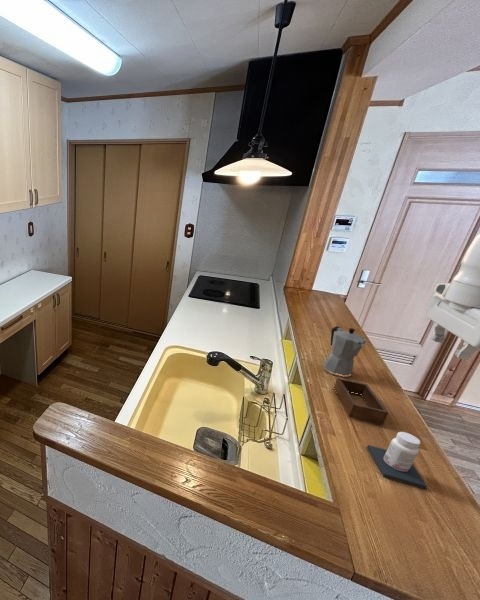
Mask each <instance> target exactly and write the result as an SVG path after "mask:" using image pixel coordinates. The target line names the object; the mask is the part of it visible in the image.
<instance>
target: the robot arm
mask: <svg viewBox="0 0 480 600" xmlns="http://www.w3.org/2000/svg"><path fill="white" fill-rule="evenodd" d="M433 291H434V294H433V295H432V296H431V298H430V301H429V304H428V306H427V309H426V318H427V319H429V320H431V321H432V322H433V325H432V328H433V329H432V330H433V331H432V336H431V340H432V341H433V342H435V343H441V344H442V343H444V342H445V340H446V338H447V336H445V333H446V330H447V331H448V332H450V333H451V334H452V335H454V336H456V337H457V338H459V339H461V340H463V341H464V342H463V344H462V347H461V348H460V349H455V352H454V357H456V358H457V359H459V360H463V361H468V360H469V359H470V357H471V355H473V354H474V353H476V352H478V351H479V350H480V232H478V233H477V234H476V236H475V237H474V238H473V240H472V242H470V244H469V246H468V248H467V249H466V251H465V253H464V255H463V257H462V259H461V262H460V268H459V271H458V273H457V274H455V275H454V277H452V280H451V282H446V283H437V284H436V285H435V286H434V289H433Z"/></svg>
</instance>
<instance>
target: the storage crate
mask: <svg viewBox="0 0 480 600" xmlns="http://www.w3.org/2000/svg"><path fill="white" fill-rule="evenodd" d="M334 388H335V389H334ZM335 390H336V391H335ZM333 391H334V393H335V395H336V396H337V398H338V400H339V402H340V404H341V406H342V407H343V409H344V411H345V413H346V415H347V417H349V418H351V419H356V420H360V421H363V422H369V423H372V424H377V425H380V426H384V424H385V422H386V420H387V418H388V415H389V411H388V410H387V409H386V407H385V406H384V404H383V403H382V402H381V400H380V399H379V398H378V396H377V395H376V394H375V392H374V391H373V390H372V388H371V387H370V385H369V384H368V383H363V382H358V381H354V380H349V379H346V378H341V377H337V378H336V381H335V383H334V385H333ZM348 391H349V392H348ZM336 392H337V393H336ZM351 392H354V393H351ZM355 393H358V394H355ZM360 394H362V395H360ZM352 395H355V396H359V397H360V398H362V401H363V402H364V403H365V405H362V404H359V403H356V402H355V400H354V399H353V397H352ZM362 396H363V397H362ZM364 399H365V400H364ZM366 402H367V403H366Z"/></svg>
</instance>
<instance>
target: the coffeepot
mask: <svg viewBox="0 0 480 600" xmlns="http://www.w3.org/2000/svg"><path fill="white" fill-rule="evenodd" d="M355 332H356V329H355V328H352V327H350V328H348V331H346V330H345V329H343V328H341V327H340V326H338V325H337V326H334V327H332V328H331V334H330V346H331V352H329V354H328V355H327V357H326V358H325V360H324V361H323V362H322V364H321V366H322V369H323V370H324V371H325V372H326V373H328V374H330V375H332V376H335V377H337V378H342V379H349V378H350V377H351V376H348V377H343V376H339V375H335V374H332V373H330V372H329V371H331V372H333V373H338V374H342V375H349V374H352V375H353V368H354V362H355V360H354V358H355V357H357V356H358V354H359V353H360V351H361V349H362V348H363V347H364V346H365V344H366V342H367V341H366V339H365V337H363V336H362V335H359V334H357V333H355ZM323 365H324V368H326V369H328V370H329V371H327V370H325V369H324V368H323Z"/></svg>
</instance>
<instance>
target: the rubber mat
mask: <svg viewBox="0 0 480 600" xmlns="http://www.w3.org/2000/svg"><path fill="white" fill-rule="evenodd" d="M366 449H367V451H368V452H369V455H370V456H371V458H372V459H373V461H374V463H375V465H376V467H377V469H378V471H379V472H380V474H381V476H382V477H383V478H385V479H390V480H393V481H396V482H400V483H403V484H405V485H406V484H407V485H410V486H413V487H417V488H419V489H423V490H426V489H427V488H428V484H427V483H426V481H424V479H423V477H422V476H421V474H419V472H418V470H417V469H416V467H415V466H414V465H413V464H412V465H411V467H410V469H409V470H408V471H405V472H404V471H399V470H396V469H394V468H392V467H391V466H389V465H388V464H387V463H386V462H385V461H384V455H385V453H386V451H387V449H384V448H381V447H378V446H374V445H371V444H368V445H367V446H366Z"/></svg>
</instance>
